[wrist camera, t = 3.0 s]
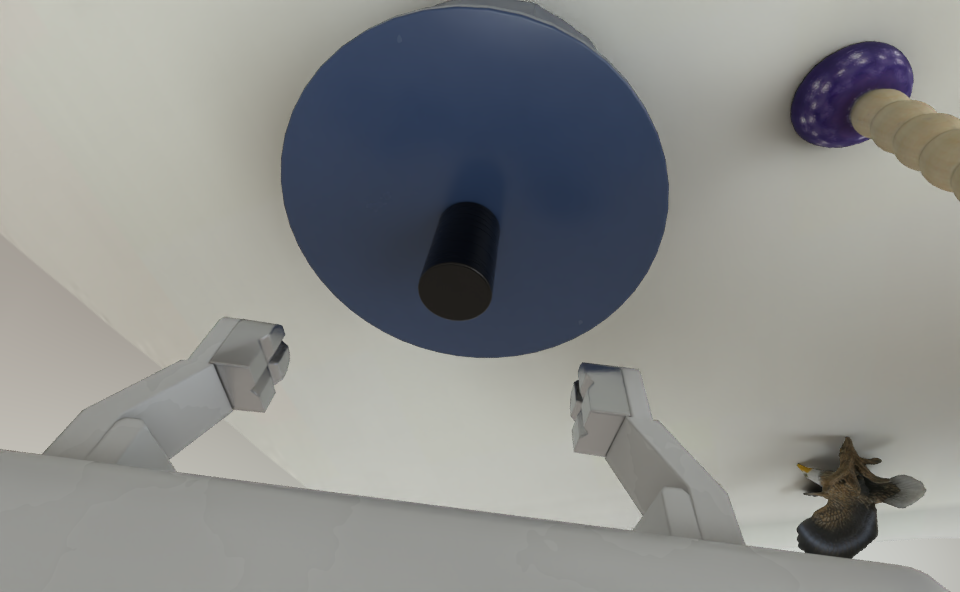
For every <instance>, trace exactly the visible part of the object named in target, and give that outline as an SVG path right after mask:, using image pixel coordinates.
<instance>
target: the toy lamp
mask: <svg viewBox="0 0 960 592" xmlns="http://www.w3.org/2000/svg"><path fill="white" fill-rule="evenodd" d="M913 82H914V80H913V72H912V68H911V66H910V64H909V61H908V60H907V58H906V57H905V56H904V55H903V53H902V52H901V51H899V50H898V49H897V48H895V47H894V46H891V45H889V44H886V43H881V42H875V41H873V42H863V43H858V44H854V45H850V46H848V47H845V48H843V49H841V50H839V51H837V52H835V53H834V54H832V55H829V56H828V57H826V58H825V59H824V60H823V61H821V62H820V63H819V64H818V65H816V66H815V67H814V68H813V69H812V70H811V72H810V73H809V74H808V75H807V76H806V77H805V79H804V80H803V82H802V83H801V85H800V86H799V87H798V90H797V91H796V93H795V96H794V99H793V102H792V107H791V120H792V124H793V126H794V129H795V131H796V132H797V134H798V135H799V136H800V137H801V138H803V139H804V140H806V141H807V142H809V143H812V144H814V145H818V146H822V147H828V148H832V147H834V148H840V147H847V146H851V145H855V144H859V143H861V142H864V141H866V140H869V139H873V141H874V142H875V144H876V145H877V146H878V147H880V148H881V149H882V150H884V151H887V152H890V153H893V154H895V156H896V157H897V159H898V160H899V161H900V162H901V163H902V164H903V165H905V166H907V167H908V168H911V169H914V170H917V171H921V173H922V175H923V176H924V177H925V178H926V180H927V181H928V182H930V183H931V184H932V185H934V186H936V187H938V188H940V189H942V190H945V191H949V192H954V194H955V196H956V197H957V199H958V200H959V201H960V119H958V118H956V117H954V116H952V115H948V114H944V113H937V112H936V111H935V110H934V108H932V107H931V106H930V105H928V104H926V103H923V102H920V101H917V100H910V96H911V93H912V87H913Z"/></svg>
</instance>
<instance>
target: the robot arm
mask: <svg viewBox="0 0 960 592" xmlns="http://www.w3.org/2000/svg"><path fill="white" fill-rule="evenodd" d="M284 336H285V333H284V329H283V326H281V325H278V324H272V323H265V322H259V321H252V320H246V319H237V318H230V317H223V318H222V319H220V320H219V321H218V322H217V323H216V324H215V326H214V327H213V328H212V329H211V331H210V332H209V333H208V334H207V336H206V337H205V338H204V339H203V341H202V342H201V343H200V344H199V346H198V347H197V348H196V350H195V351H194V352H193V353H192V355H191V356H190V357H189V358H188V360H180V361H178V362H176V363H174V364H172V365H170V366H168V367H166V368H164V369H162V370H160V371H158V372H156V373H155V374H153V375H151V376H149V377H147V378H145V379H143V380H141V381H139V382H137V383H135V384H133V385H131V386H129V387H127V388H125V389H123V390H121V391H119V392H117V393H115V394H113V395H111V396H109V397H107V398H106V399H104V400H102V401H100V402H98V403H96V404H94V405H92V406H90V407H88V408H86V409H84V410H82V411H81V413H80V414H79V415H78V416H77V417H76V418H75V419H74V420H73V421H72V422H71V423H70V424H69V426H68V427H67V428H66V429H65V430H64V431H63V432H62V433H61V434H60V435H59V436H58V438H57V439H56V440H55V441H54V442H53V443H52V444H51V445H50V446H49V447H48V448H47V449H46V450H45V451H44V453H43V454H34V453H26V452H18V451H11V450H10V451H9V450H3V449H0V592H950V591H949V590H947V589H946V588H945V587H943V586H942V585H941V584H940V583H938V582H937V581H936V580H934V579H933V578H932V577H931V576H929V575H928V574H926V573H924V572H922V571H920V570H916V569H914V568H911V567H906V566H901V565H895V564H887V563H880V562H872V561H864V560H856V559H849V558H841V557H833V556H825V555H817V554H810V553H801V552H794V551H786V550H778V549H771V548H763V547H755V546H747V545H745V543H744V540H743V537H742V534H741V531H740V528H739V525H738V522H737V519H736V516H735V514H734V511H733V508H732V505H731V502H730V499H729V496H728V493H727V492H726V491H725V490H724V489H723V488H722V487H721V486H720V485H719V484H718V483H717V482H716V481H715V480H714V479H713V478H712V476H711V475H710V474H709V473H708V472H707V471H706V470H705V469H704V468H703V467H702V466H701V465H700V464H699V463H698V462H697V461H696V460H695V459H694V457H693V456H692V455H691V454H690V453H689V452H688V451H687V450H686V449H685V448H684V447H683V446H682V445H681V444H680V443H679V442H678V441H677V440H676V438H675V437H674V436H673V435H672V434H671V433H670V432H669V431H668V430H667V429H666V428H665V427H664V426H663V425H662V424H661V423H660V422H659V421H658V420H653V418H652V414H651V410H650V406H649V402H648V399H647V395H646V391H645V387H644V383H643V379H642V375H641V372H640V371H639V369H634V368H625V367H618V366H609V365H600V364H592V363H583V362H582V364H581V365H580V367H579V370H578V377H579V380H577V381H576V382H574V385H573V388H572V392H571V399H570V413H571V417H572V418H573V420H574V421H575V423H574V426H573V429H572V437H573V448H574V452H576V453H583V454H589V455H596V456H602V457H605V459H606V461H607V462H608V464H609V465H610V467H611V468H612V470H613V471H614V473H615V474H616V476H617V477H618V479H619V480H620V482H621V483H622V485H623V486H624V488H625V490H626V491H627V493H628V494H629V496H630V497H631V499H632V500H633V502H634V503H635V505H636V506H637V508H638V509H639V511H640V512H641V514H642V515H643V517H642V518H641V520H640V521H639V522H638V524H637V525H636V527H635V528H634V529H633V531H631V530H623V529H615V528H608V527H600V526H592V525H584V524H577V523H569V522H561V521H553V520H546V519H538V518H530V517H522V516H515V515H507V514H499V513H491V512H483V511H476V510H468V509H460V508H452V507H445V506H437V505H429V504H421V503H414V502H406V501H398V500H390V499H382V498H375V497H367V496H359V495H351V494H343V493H335V492H328V491H320V490H312V489H304V488H297V487H289V486H280V485H273V484H266V483H258V482H250V481H241V480H235V479H226V478H219V477H211V476H204V475H196V474H188V473H180V472H177V471H176V470H175V468H174V466H173V465H172V463H171V462H170V460H169V459H171V458H172V457H173V456H174V455H176V454H177V453H179V452H180V451H181V450H183V449H184V448H185V447H186V446H188V445H189V444H190V443H192V442H193V441H194V440H196V439H197V438H198V437H200V436H201V435H202V434H203V433H205V432H206V431H207V430H209V429H210V428H211V427H213V426H214V425H215V424H217V423H218V422H219V421H221V420H222V419H223V418H225V417H226V416H227V415H229V414H230V413H231V412H232V411H233V410H232V409H234V410H244V411H254V412H264V413H265V411H266V409H267V407H268V405H269V404H270V402H271V400H272V398H273V396H274V395H275V393H276V392H275V389H274V385H275V384H276V383H278V382H279V381H281V380H283V378H284V376H285V374H286V372H287V369H288V365H289V361H290V352H289V348H288V346H287V345H286V344H285V343H284V342H283V341H282V339H283V338H284Z"/></svg>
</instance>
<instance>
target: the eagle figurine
mask: <svg viewBox="0 0 960 592" xmlns="http://www.w3.org/2000/svg"><path fill="white" fill-rule="evenodd" d="M839 456H840V466H839V468H837V471H836V472H833V471H820V470H817V469H814V468H808V467H805V466H802V465H800V464H797V466H798V467H799V469H800V470H801V471H802V472H803V474H804V476H805V477H806V478H808V479H810V480H812V481H813V482H815V483H817V484H819V485H821V486H822V487H823V489H822V491H823V492H809V493H803V494H804V495H808V496H811V495H812V496H814V497H816V496H822V497H824V498H826V499H828V503H827V504H826V505H825V506H824V507H822V508H820V509H819V510H817V511H815V512H814V514H813V516H812V517H810V518H808V519H806V520H804V521H803V522H802V523H801V524H800V525H799V526H798V527H797V532H798V534H799V535H798V537H797V541H798V542H799V544H798V547H799V548H800V549H801V550H804V551H805V553H810V554H817V555H825V556H833V557H841V558H849V559H852V558H853V556H855V555H856V554H858V553H859V552H860V551H862V550H863V549H864V548H866V547H867V545H868V544H869V543H871V542H872V541H873V540H874V539H875V538H876V537H877V536H878V525H877V514H876V513H877V509H876V508H875V504H877V503H882V502H883V503H887V504H889V505H892V506H894V507H897V508H906V507H907V506H909V505H912V504H913V503H915V502H917V501H918V500H919V499H920V498H921V497H923V496H924V493H925V492H926V489H925V488H924V486H923V483H922V482H921V481H918V480H916V479H914V478H913V477H910V476H907V475H898V476H895V477H892V478H890V479H889V478H880V477H878V476H875V475H874V474H872V473H871V472H870V471H869V470H868V469H867V467H866V464H873V465H874V464H878V463H881V462H882V460H881V459H879V458H872V459H865V458H861V457H859V456H858V454H857V452H856V451H855V449H854V447H853V443H852V440H851V439H850V438H849V437H846V438H845V441H844V443H843V445H842V447H841V448H840V453H839Z"/></svg>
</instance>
